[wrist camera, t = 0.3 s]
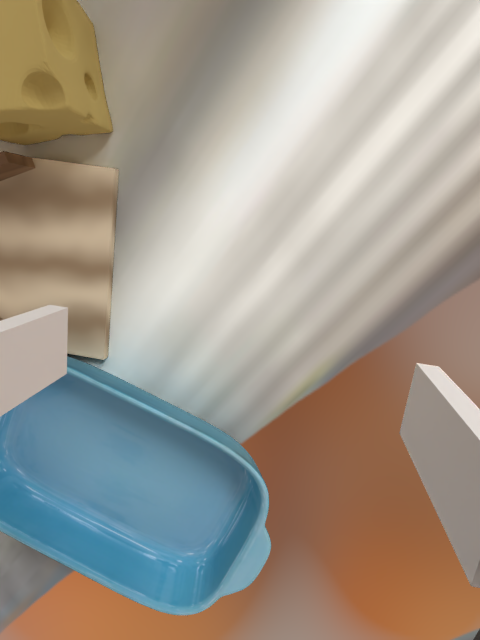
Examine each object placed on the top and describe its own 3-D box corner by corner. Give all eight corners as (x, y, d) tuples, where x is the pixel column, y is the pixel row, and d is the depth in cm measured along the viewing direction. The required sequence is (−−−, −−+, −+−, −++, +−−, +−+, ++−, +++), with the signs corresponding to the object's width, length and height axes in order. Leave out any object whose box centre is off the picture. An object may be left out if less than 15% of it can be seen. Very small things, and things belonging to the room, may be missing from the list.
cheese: (116, 133, 41) (59, 105, 31) (19, 150, 42) (-64, 128, 33) (96, 14, 38) (28, -56, 29) (-6, 37, 40) (-103, -22, 30)
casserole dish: (310, 452, 45) (312, 493, 39) (227, 592, 51) (215, 649, 44) (17, 304, 47) (-32, 318, 40) (-32, 458, 52) (-82, 493, 46)
